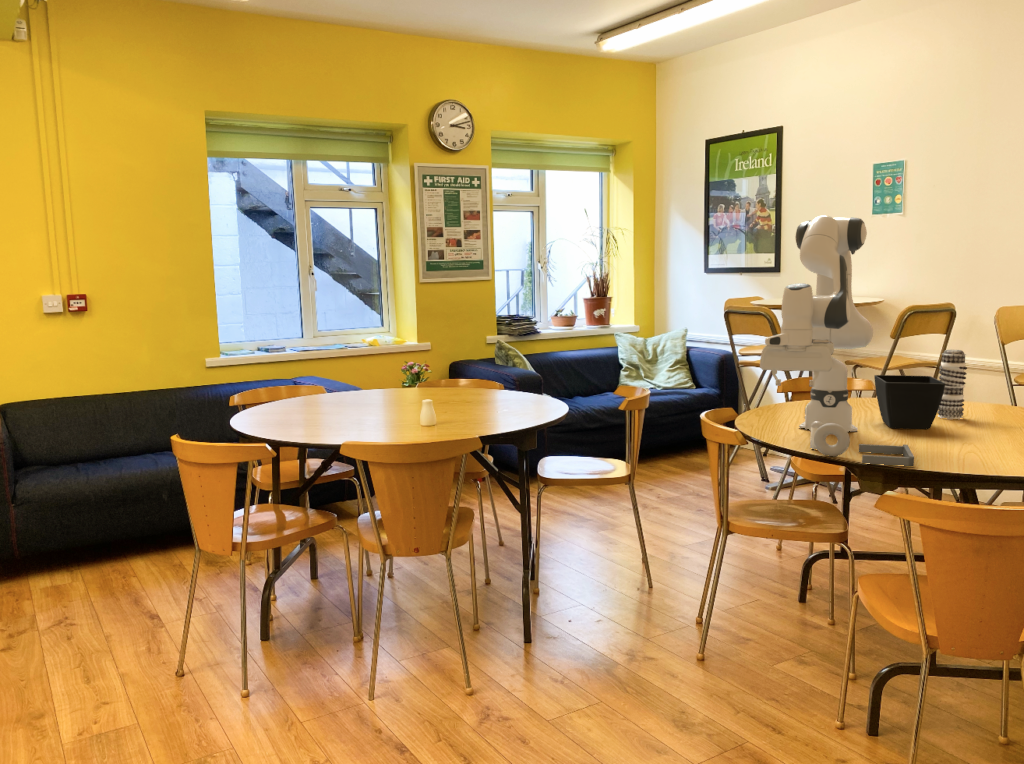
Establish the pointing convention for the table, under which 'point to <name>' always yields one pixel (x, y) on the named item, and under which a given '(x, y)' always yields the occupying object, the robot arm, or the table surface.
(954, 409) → the decorative candle
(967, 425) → the table surface
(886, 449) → the tray
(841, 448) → the donut
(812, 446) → the salt shaker
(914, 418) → the flower pot
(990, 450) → the table surface
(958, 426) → the table surface
